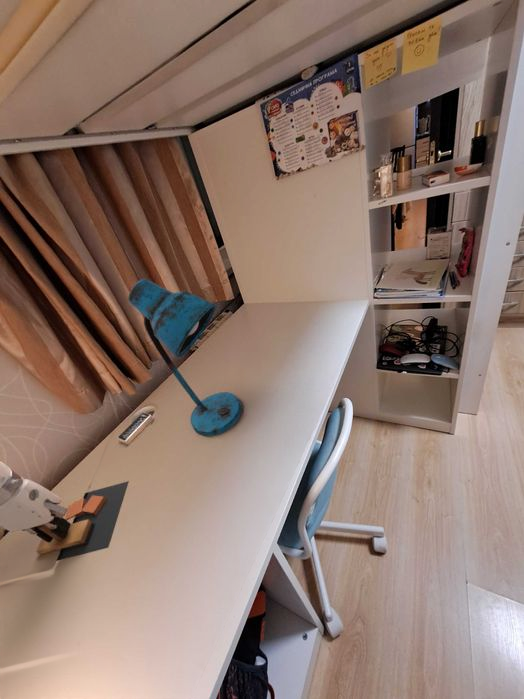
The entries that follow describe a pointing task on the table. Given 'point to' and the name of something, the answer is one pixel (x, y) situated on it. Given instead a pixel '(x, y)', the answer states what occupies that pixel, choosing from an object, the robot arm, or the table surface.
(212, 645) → the table surface
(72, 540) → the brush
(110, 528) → the mat
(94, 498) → the orange square tile
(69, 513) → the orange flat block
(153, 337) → the desk lamp
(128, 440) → the multiport hub
